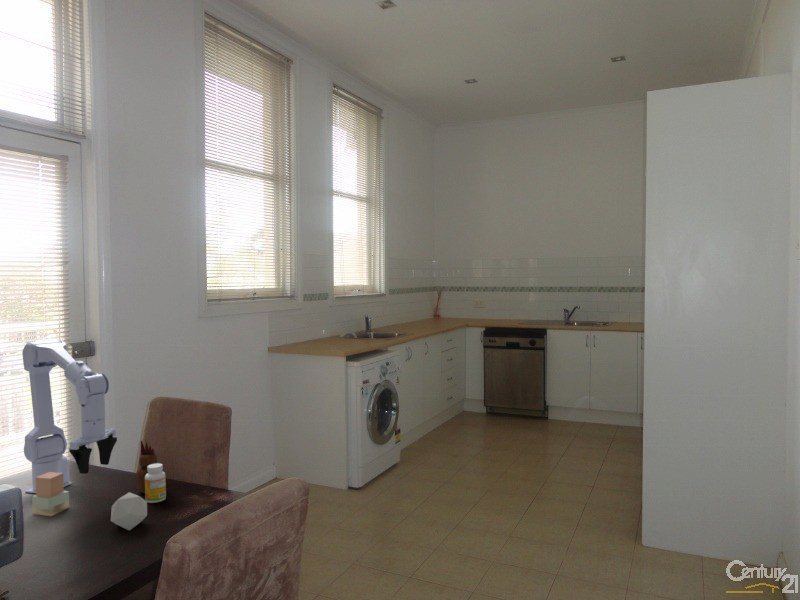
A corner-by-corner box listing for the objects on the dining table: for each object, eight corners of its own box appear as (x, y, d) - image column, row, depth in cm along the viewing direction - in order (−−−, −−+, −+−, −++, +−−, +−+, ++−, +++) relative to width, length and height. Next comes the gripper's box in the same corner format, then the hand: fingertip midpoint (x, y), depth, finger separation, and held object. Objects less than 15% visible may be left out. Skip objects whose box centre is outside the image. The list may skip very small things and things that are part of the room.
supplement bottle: (146, 497, 168) (145, 463, 168) (166, 495, 170) (165, 461, 169) (144, 504, 163) (143, 469, 163) (165, 501, 165) (164, 467, 164)
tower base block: (51, 506, 163) (51, 497, 162) (69, 508, 161) (69, 499, 161) (32, 515, 157) (32, 505, 157) (51, 517, 155) (51, 508, 155)
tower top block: (52, 497, 163) (52, 488, 163) (69, 500, 160) (68, 491, 160) (32, 505, 157) (32, 496, 157) (48, 508, 155) (48, 499, 155)
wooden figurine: (132, 493, 171) (130, 442, 171) (147, 487, 177) (146, 437, 176) (150, 496, 169) (149, 444, 168) (165, 489, 174) (164, 439, 174)
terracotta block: (49, 490, 161) (49, 472, 161) (63, 491, 160) (63, 473, 160) (36, 496, 157) (35, 477, 157) (50, 497, 156) (50, 478, 156)
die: (155, 527, 149) (154, 490, 154) (132, 523, 142) (131, 483, 147) (126, 537, 150) (126, 500, 155) (102, 533, 143) (103, 494, 148)
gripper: (85, 426, 153) (86, 478, 153) (124, 413, 167) (125, 461, 167) (62, 424, 155) (64, 476, 155) (103, 412, 169) (104, 459, 169)
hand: (94, 468), depth 161 cm, fingers open, 7 cm apart
